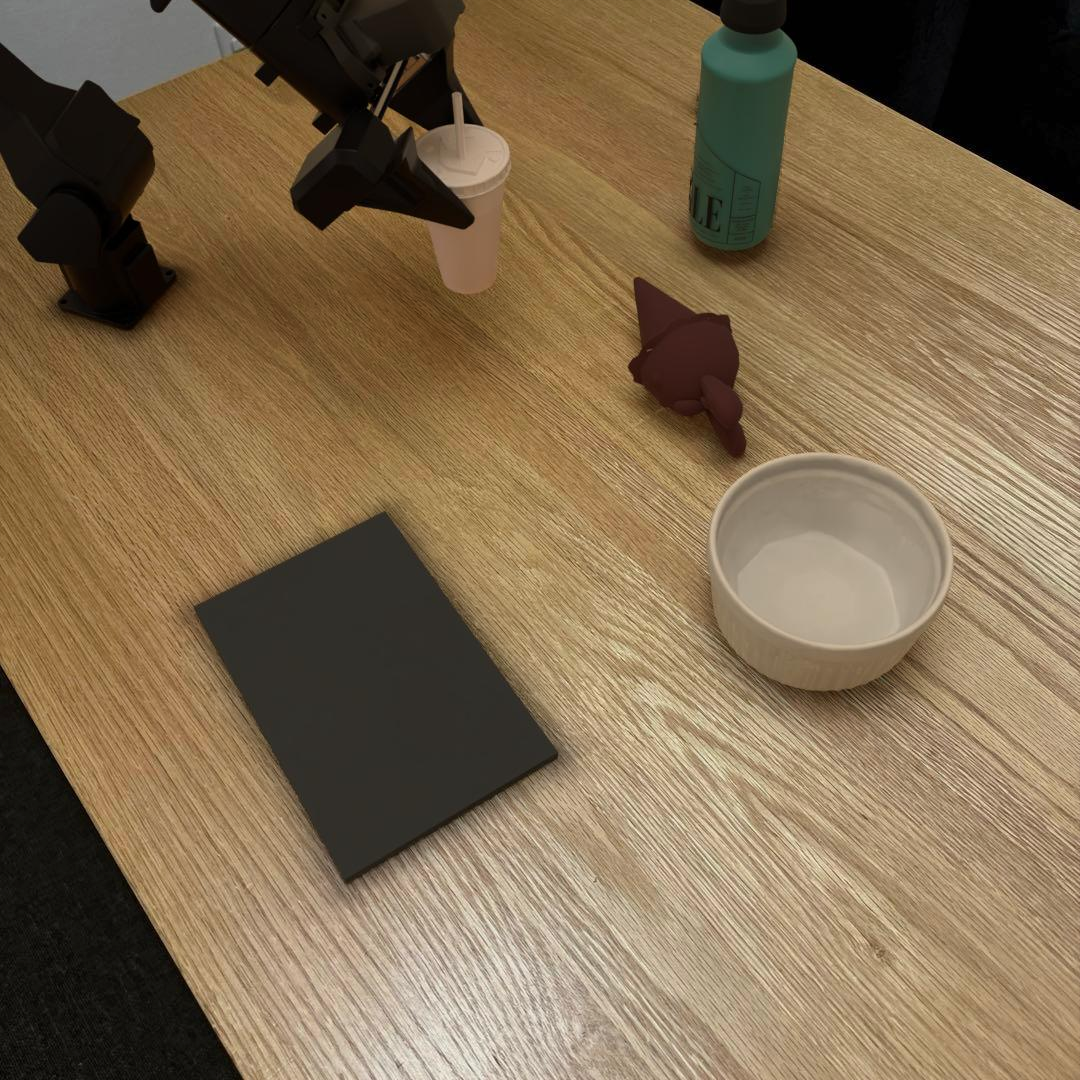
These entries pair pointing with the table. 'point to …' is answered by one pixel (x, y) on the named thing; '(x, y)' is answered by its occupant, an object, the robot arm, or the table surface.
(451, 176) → the smoothie
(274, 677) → the mat
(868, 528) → the ramekin
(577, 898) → the table surface
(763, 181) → the beverage bottle
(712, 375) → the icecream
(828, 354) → the table surface
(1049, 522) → the table surface
